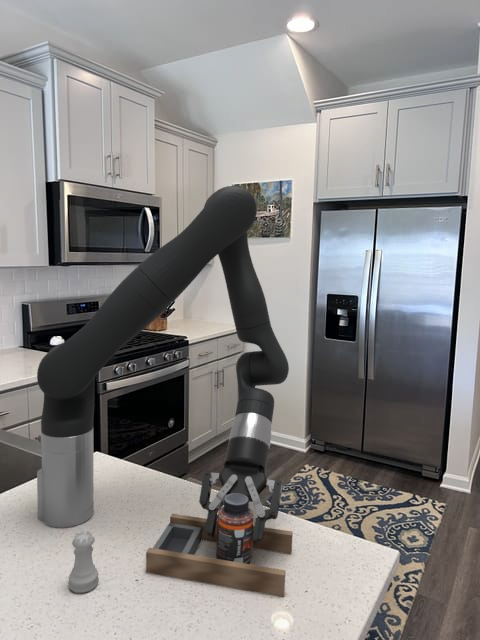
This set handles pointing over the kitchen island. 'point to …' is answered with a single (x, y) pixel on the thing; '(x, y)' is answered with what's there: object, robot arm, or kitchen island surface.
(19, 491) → the kitchen island surface
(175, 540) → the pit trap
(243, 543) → the supplement bottle
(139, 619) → the kitchen island surface
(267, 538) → the walnut channel
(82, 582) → the rook chess piece
